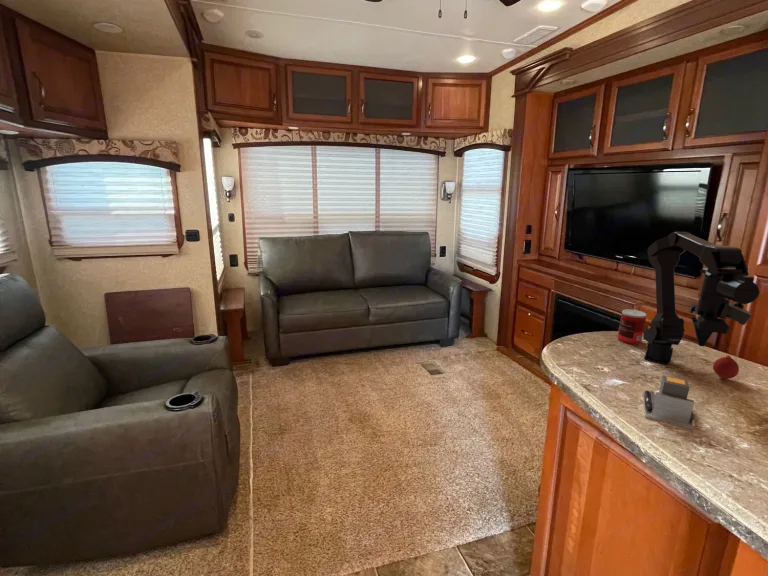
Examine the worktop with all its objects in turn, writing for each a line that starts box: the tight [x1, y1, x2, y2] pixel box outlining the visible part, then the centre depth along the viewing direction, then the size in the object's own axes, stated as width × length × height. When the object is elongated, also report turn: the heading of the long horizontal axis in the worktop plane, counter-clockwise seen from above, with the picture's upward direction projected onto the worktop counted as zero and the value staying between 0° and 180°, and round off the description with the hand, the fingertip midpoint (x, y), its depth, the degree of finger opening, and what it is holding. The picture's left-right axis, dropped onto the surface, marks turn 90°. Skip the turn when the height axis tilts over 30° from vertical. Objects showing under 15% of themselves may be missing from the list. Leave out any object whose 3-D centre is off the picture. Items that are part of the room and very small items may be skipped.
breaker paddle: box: [659, 375, 690, 399], centre depth 98 cm, size 4×5×9 cm
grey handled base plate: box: [642, 390, 696, 431], centre depth 100 cm, size 12×10×7 cm
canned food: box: [617, 308, 647, 345], centre depth 145 cm, size 8×8×11 cm
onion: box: [712, 353, 740, 381], centre depth 117 cm, size 6×6×8 cm
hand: (700, 345), depth 111 cm, fingers closed
